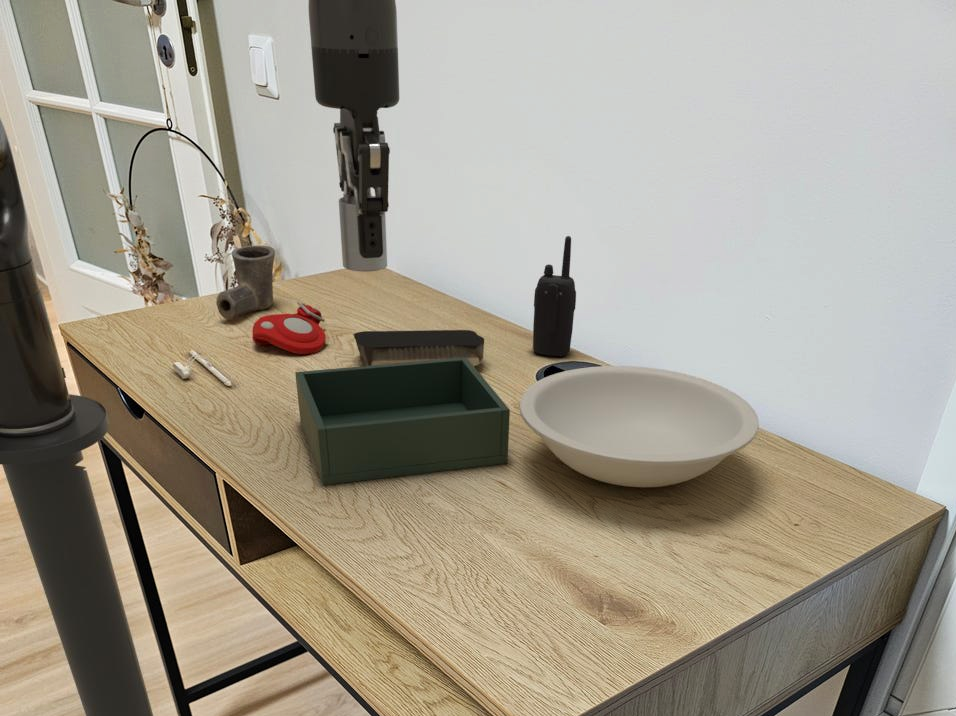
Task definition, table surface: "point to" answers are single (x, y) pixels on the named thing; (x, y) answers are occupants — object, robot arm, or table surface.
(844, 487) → the table surface
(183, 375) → the picture light
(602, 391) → the soup bowl
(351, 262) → the metal cylinder
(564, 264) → the two-way radio
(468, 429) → the bin
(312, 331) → the tracker holder
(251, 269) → the pipe
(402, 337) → the bristle scrub brush
